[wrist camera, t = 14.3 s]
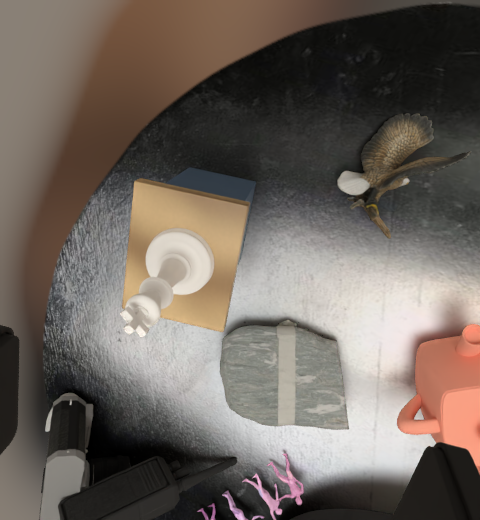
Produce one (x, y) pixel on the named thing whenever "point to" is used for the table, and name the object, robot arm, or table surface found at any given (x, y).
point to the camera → (72, 455)
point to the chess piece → (168, 276)
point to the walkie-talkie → (135, 492)
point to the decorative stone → (283, 376)
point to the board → (201, 222)
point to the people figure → (265, 494)
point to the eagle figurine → (391, 163)
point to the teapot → (447, 392)
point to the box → (217, 186)
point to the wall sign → (343, 515)
